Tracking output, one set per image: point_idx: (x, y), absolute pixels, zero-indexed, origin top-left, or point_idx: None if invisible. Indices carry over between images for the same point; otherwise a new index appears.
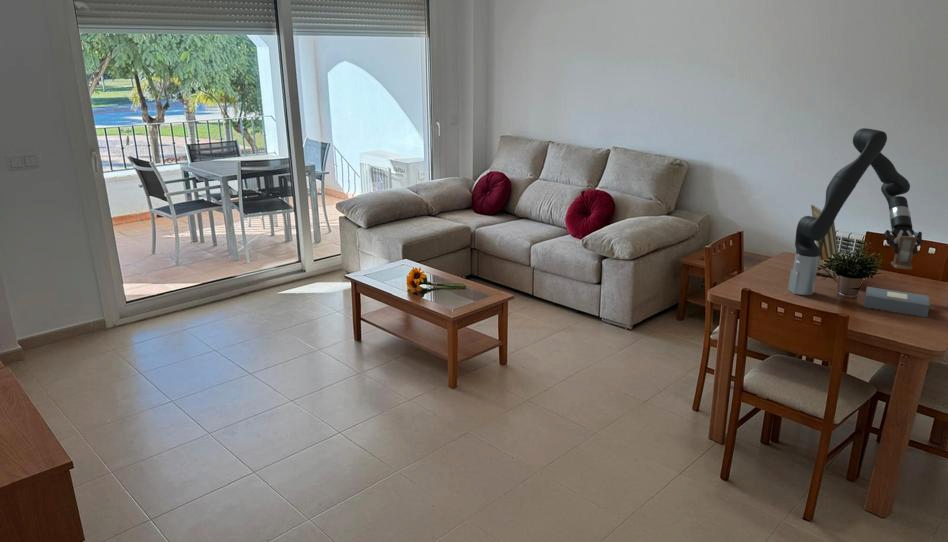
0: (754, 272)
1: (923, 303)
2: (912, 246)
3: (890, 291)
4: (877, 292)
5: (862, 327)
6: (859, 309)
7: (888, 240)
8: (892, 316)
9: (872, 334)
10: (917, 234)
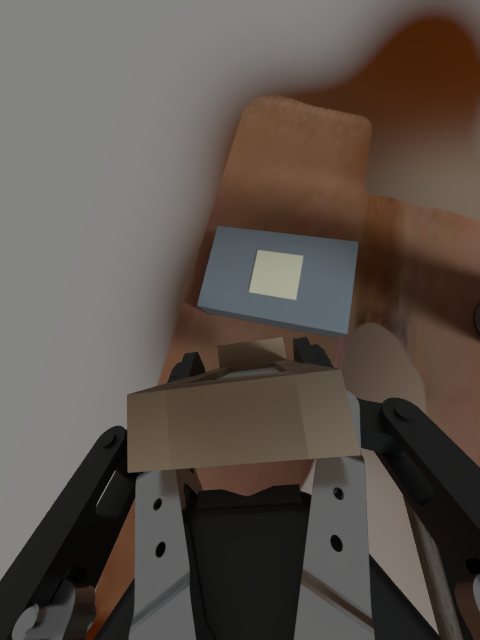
0: None
1: (227, 236)
2: (198, 377)
3: (286, 307)
4: (323, 283)
5: (356, 137)
6: (354, 239)
7: (417, 480)
8: (290, 222)
9: (341, 113)
10: (33, 622)
